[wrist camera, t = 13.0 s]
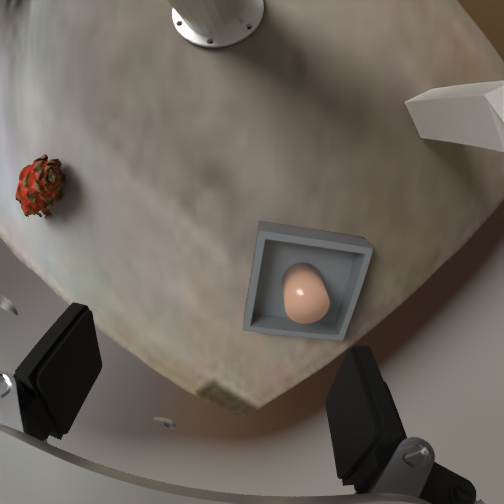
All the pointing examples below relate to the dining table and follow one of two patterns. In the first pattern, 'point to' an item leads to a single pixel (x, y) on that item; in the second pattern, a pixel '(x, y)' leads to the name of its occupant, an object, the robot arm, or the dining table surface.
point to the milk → (461, 114)
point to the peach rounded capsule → (304, 293)
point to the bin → (313, 252)
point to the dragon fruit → (40, 186)
